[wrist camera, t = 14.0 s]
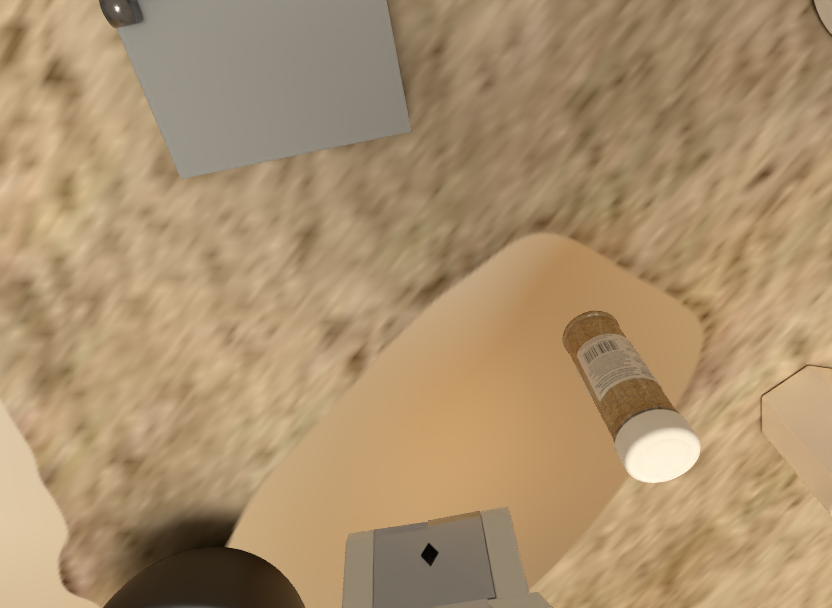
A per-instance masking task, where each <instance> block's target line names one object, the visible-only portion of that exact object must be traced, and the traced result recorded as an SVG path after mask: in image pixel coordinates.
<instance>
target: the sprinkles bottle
mask: <svg viewBox="0 0 832 608" xmlns="http://www.w3.org/2000/svg"><path fill="white" fill-rule="evenodd" d="M563 344H564V347H565V348H566V350H567V351H568V353H569V354H570V355H571V357H572V359H573V361H574V363H575V365H576V369H577V371H578V373H579V375H580V377H581V379H582V381H583V383H584V385H585V387H586V389H587V391H588V393H589V395H590V397H591V398H592V399H593V401H594V403H595V405H596V407H597V409H598V411H599V412H600V414H601V417H602V418H603V420H604V422H605V424H606V425H607V427H608V430H609V432H610V433H611V435H612V437H613V441H614V444H615V449H616V452H617V454H618V456H619V458H620V460H621V461H622V464H623V465H624V467H625V469H626V470H627V472H628V473H629V474H630V475H631V476H632V477H633V478H635V479H637V480H639V481H643V482H649V483H657V482H664V481H668V480H671V479H674V478H676V477H678V476H680V475H682V474H683V473H685V472H686V471H687V470H689V469H690V468H691V467H692V466H693V465H694V463H695V462H696V461H697V459H698V457H699V454H700V449H701V447H700V441H699V439H698V437H697V435H696V434H695V432H694V431H693V429H692V428H691V426H690V425H689V423H688V422H687V420H686V419H685V418H684V417H683V416H682V415H681V414H680V413H679V412H678V411H676V410H675V408H674V407H673V406H672V404H671V403H670V401H669V400H668V398H667V396H666V395H665V394H664V392H663V390H662V388H661V386H660V385H659V383H658V382H657V380H656V379H655V378H654V376H653V375H652V373H651V372H650V370H649V369H648V367H647V366H646V364H645V363H644V362H643V360H642V358H641V357H640V355H639V354H638V352H637V351H636V350H635V348H634V347H633V345H632V344H631V342H630V341H629V340H628V339H627V338H626V336H625V335H624V334H623V332H622V331H621V329H620V328H619V325H618V322H617V320H616V319H615V318H614V317H613V316H612V315H610V314H608V313H605V312H602V311H589V312H586V313H583V314H581V315H579V316H577V317H576V318H574V319H573V320H572V321H571V322H570V323H569V324H568V325H567V327H566V329H565V331H564V334H563Z"/></svg>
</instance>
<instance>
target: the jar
mask: <svg viewBox="0 0 832 608" xmlns="http://www.w3.org/2000/svg"><path fill="white" fill-rule="evenodd" d="M762 433H763V434H764V435H765V437H766V438H767V439H768V440H769V441H770V443H771V444H772V445H773V446H774V447H775V449H776V450H777V451H778V452H779V453H780V455H781V456H782V457H783V458H784V460H785V461H786V462H787V463H788V464H789V466H790V467H791V468H792V469H793V470H794V472H795V473H796V474H797V475H798V476H799V478H800V479H801V480H802V481H803V482H804V484H805V485H806V486H807V487H808V488H809V490H810V491H811V492H812V493H813V494H814V496H815V497H816V498H817V499H818V500H819V502H820V503H821V504H822V505H823V506H824V508H825V509H826V510H827V511H828V512H829V514H830V515H831V516H832V369H829V368H822V367H816V366H806V367H805V368H803V369H802V370H800V371H799V372H797V373H796V374H795V375H793V376H792V377H790V378H789V379H787V380H786V381H784V382H783V383H781V384H780V385H778V386H777V387H775V388H774V389H772V390H771V391H769V392H768V393H766V394H765V395H764V396H762Z"/></svg>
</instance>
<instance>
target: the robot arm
mask: <svg viewBox="0 0 832 608" xmlns="http://www.w3.org/2000/svg"><path fill="white" fill-rule="evenodd" d="M814 2H815V5H816V8H817V11H818V13H819V16H820V18H821V20H822V22H823V23H824V25H825V27H826V28H827V29H828V31H829V32H830V33H831V34H832V0H814ZM481 518H482V519H481ZM342 599H343V600H342V608H553V607H552V606H551V605H550V604H549V603H548V602H547V601H546V600H545V599H544V598H543V597H542V596H541V595H540V594H539V593H538V592H533V593H529V589H528V585H527V581H526V577H525V573H524V569H523V565H522V561H521V556H520V552H519V548H518V545H517V540H516V536H515V532H514V528H513V523H512V519H511V515H510V511H509V509H508V507H503V508H497V509H492V510H486V511H481V515H480V511H476V512H471V513H466V514H460V515H455V516H450V517H444V518H439V519H434V520H428V522H422V523H416V524H409V525H402V526H396V527H389V528H382V529H375V530H370V531H363V532H357V533H351V534H349V535H348V538H347V541H346V551H345V566H344V582H343V598H342Z"/></svg>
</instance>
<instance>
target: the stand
mask: <svg viewBox="0 0 832 608" xmlns="http://www.w3.org/2000/svg"><path fill="white" fill-rule="evenodd" d="M99 2H100V6H101V9H102V12H103V14H104V16H105V18H106V19H107V21H108V22H109V23H110V25H111V26H113V27H114V28H117V30H118V33H119V35H120V37H121V40H122V42H123V44H124V47H125V49H126V51H127V54H128V56H129V59H130V61H131V63H132V66H133V68H134V70H135V73H136V75H137V77H138V80H139V82H140V84H141V87H142V89H143V91H144V94H145V96H146V99H147V101H148V103H149V106H150V108H151V110H152V113H153V115H154V117H155V120H156V122H157V124H158V127H159V129H160V131H161V134H162V136H163V138H164V141H165V143H166V146H167V148H168V150H169V153H170V155H171V157H172V160H173V162H174V164H175V167H176V169H177V171H178V174H179V176H180V178H181V179H184V178H189V177H194V176H199V175H204V174H208V173H213V172H218V171H223V170H228V169H233V168H238V167H242V166H247V165H252V164H257V163H262V162H267V161H271V160H276V159H281V158H286V157H291V156H296V155H301V154H305V153H310V152H315V151H320V150H325V149H330V148H334V147H339V146H344V145H349V144H354V143H359V142H363V141H368V140H373V139H378V138H383V137H388V136H393V135H397V134H402V133H407V132H411V127H410V122H409V116H408V111H407V106H406V100H405V95H404V90H403V85H402V79H401V74H400V69H399V64H398V58H397V53H396V48H395V43H394V37H393V32H392V27H391V21H390V16H389V11H388V6H387V0H99Z"/></svg>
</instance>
